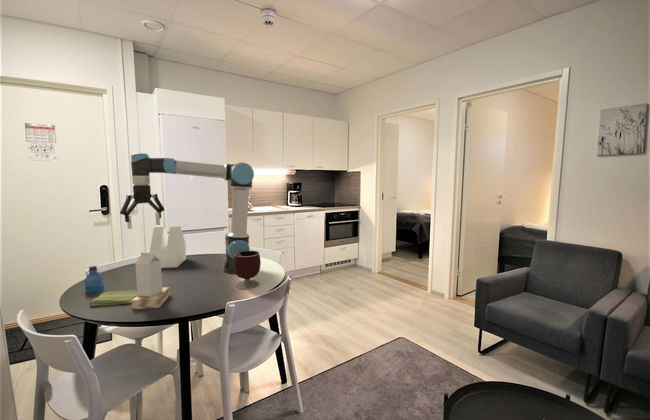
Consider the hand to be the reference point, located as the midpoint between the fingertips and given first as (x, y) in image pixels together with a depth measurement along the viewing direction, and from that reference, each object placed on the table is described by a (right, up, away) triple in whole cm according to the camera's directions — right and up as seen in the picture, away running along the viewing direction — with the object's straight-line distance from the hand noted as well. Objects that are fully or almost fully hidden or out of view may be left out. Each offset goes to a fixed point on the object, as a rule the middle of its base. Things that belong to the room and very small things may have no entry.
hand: (144, 226), depth 155 cm
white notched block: (-11, -27, +46) cm, 55 cm away
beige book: (+13, -34, -15) cm, 39 cm away
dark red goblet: (+50, -32, +6) cm, 60 cm away
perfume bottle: (-25, -32, -1) cm, 41 cm away
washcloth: (-5, -34, -13) cm, 37 cm away
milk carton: (+12, -30, -16) cm, 36 cm away
